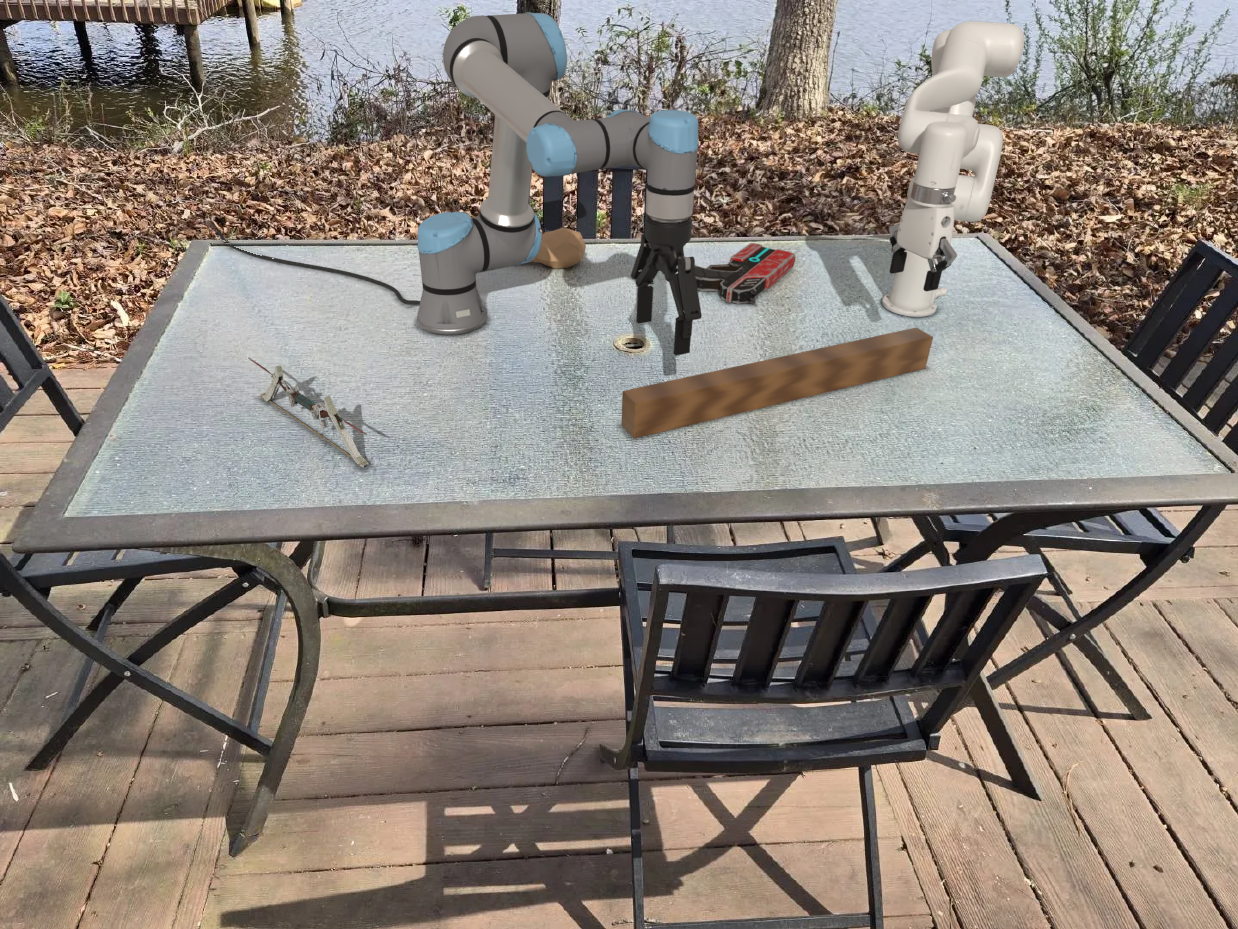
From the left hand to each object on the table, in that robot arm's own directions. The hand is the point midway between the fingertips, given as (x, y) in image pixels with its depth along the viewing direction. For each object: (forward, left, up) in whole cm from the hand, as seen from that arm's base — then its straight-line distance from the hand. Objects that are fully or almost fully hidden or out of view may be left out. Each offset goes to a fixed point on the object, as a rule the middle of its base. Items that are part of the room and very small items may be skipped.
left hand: (662, 337), depth 152 cm
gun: (-35, +68, -18) cm, 78 cm away
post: (+9, +27, -18) cm, 34 cm away
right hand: (+17, +53, +2) cm, 56 cm away
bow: (-40, -48, -18) cm, 65 cm away
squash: (-75, +38, -18) cm, 86 cm away
